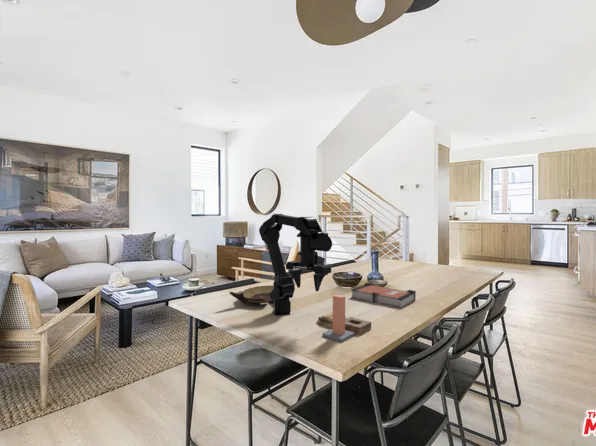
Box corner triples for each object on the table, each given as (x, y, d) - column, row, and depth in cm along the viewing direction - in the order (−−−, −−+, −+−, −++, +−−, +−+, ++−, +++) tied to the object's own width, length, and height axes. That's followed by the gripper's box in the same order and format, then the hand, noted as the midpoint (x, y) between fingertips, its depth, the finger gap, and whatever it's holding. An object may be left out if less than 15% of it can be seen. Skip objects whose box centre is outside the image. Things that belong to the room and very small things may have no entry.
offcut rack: (316, 323, 128) (316, 315, 128) (331, 317, 136) (331, 309, 135) (358, 335, 116) (358, 327, 116) (372, 328, 123) (372, 320, 123)
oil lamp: (296, 304, 153) (296, 288, 153) (231, 312, 142) (231, 294, 141) (280, 293, 174) (280, 278, 173) (222, 298, 162) (222, 283, 162)
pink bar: (332, 332, 116) (332, 295, 115) (336, 330, 118) (337, 294, 117) (340, 335, 113) (341, 297, 113) (344, 333, 115) (345, 296, 115)
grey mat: (322, 336, 115) (322, 333, 115) (335, 329, 121) (335, 327, 121) (341, 342, 110) (341, 339, 110) (354, 335, 116) (354, 332, 116)
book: (350, 298, 165) (350, 288, 165) (367, 292, 179) (367, 282, 178) (401, 309, 148) (401, 298, 148) (415, 300, 162) (415, 290, 162)
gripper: (339, 249, 127) (339, 289, 128) (303, 245, 140) (303, 282, 140) (322, 251, 119) (322, 295, 120) (284, 248, 131) (284, 287, 132)
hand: (307, 289), depth 128 cm, fingers open, 9 cm apart
